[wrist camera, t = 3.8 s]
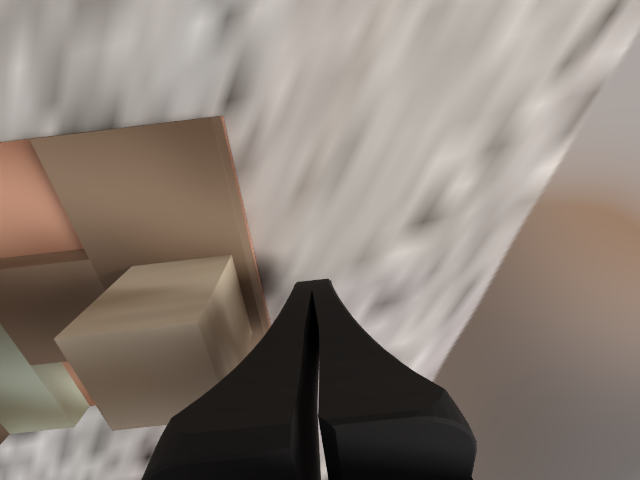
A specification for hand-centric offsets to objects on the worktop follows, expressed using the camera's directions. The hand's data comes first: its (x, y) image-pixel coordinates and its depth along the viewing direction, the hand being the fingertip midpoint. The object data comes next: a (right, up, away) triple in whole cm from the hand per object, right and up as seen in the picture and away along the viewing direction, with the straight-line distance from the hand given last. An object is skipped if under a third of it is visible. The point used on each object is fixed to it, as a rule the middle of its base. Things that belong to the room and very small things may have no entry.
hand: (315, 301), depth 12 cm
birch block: (-5, 0, +1) cm, 5 cm away
